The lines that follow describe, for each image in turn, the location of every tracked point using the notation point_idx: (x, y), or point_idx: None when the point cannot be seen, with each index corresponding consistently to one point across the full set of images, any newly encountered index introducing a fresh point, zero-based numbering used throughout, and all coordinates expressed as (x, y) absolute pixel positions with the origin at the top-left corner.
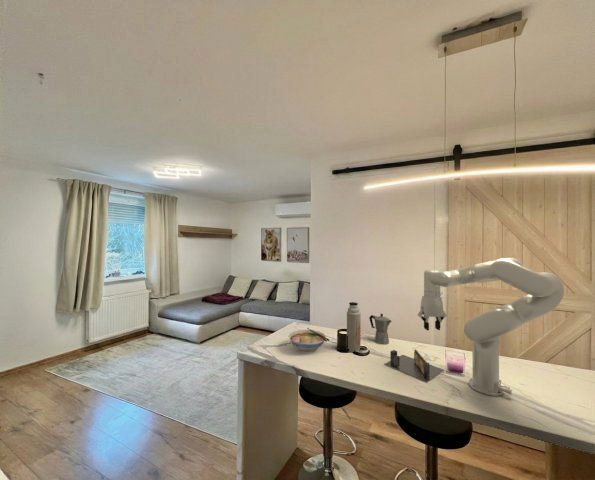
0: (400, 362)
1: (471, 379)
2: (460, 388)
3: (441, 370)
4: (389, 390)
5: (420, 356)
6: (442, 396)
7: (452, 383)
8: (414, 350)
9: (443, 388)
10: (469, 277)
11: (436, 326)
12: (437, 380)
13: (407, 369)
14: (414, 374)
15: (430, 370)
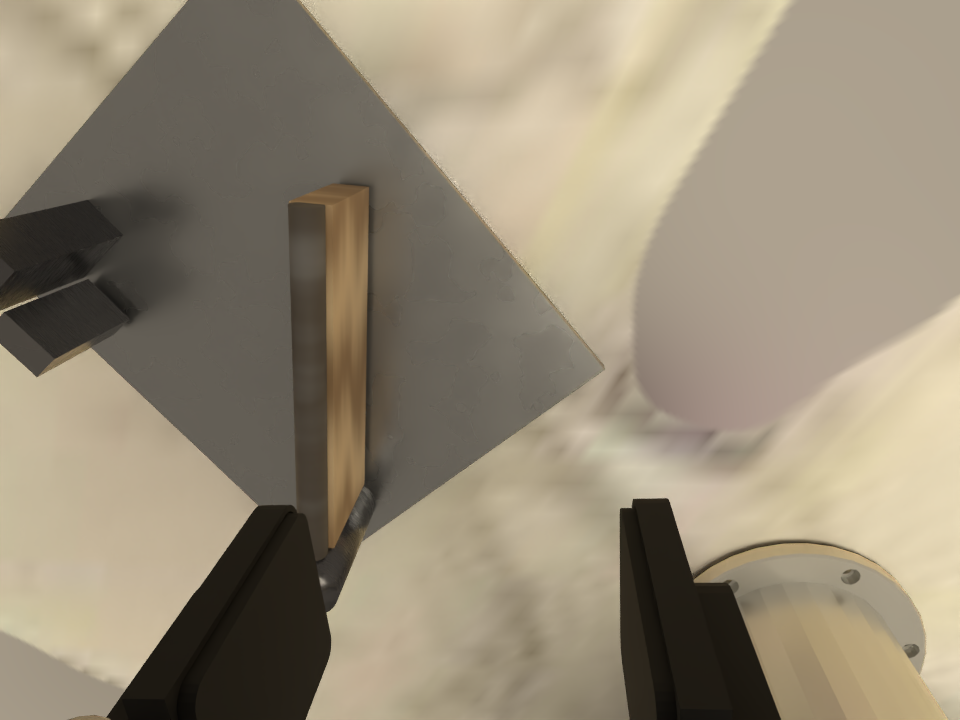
0: (166, 204)
1: (740, 578)
2: (565, 635)
3: (564, 388)
4: (22, 635)
5: (299, 428)
6: (370, 707)
7: (543, 574)
8: (288, 205)
9: (427, 630)
10: None
11: (627, 622)
12: (436, 530)
13: (209, 367)
14: (252, 459)
15: (443, 387)
